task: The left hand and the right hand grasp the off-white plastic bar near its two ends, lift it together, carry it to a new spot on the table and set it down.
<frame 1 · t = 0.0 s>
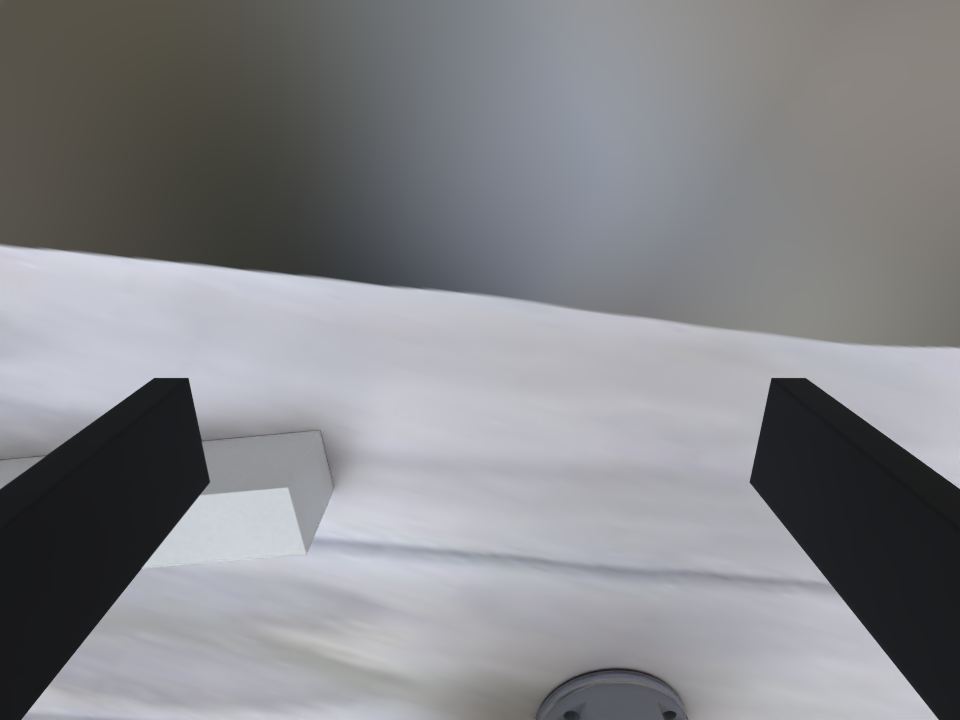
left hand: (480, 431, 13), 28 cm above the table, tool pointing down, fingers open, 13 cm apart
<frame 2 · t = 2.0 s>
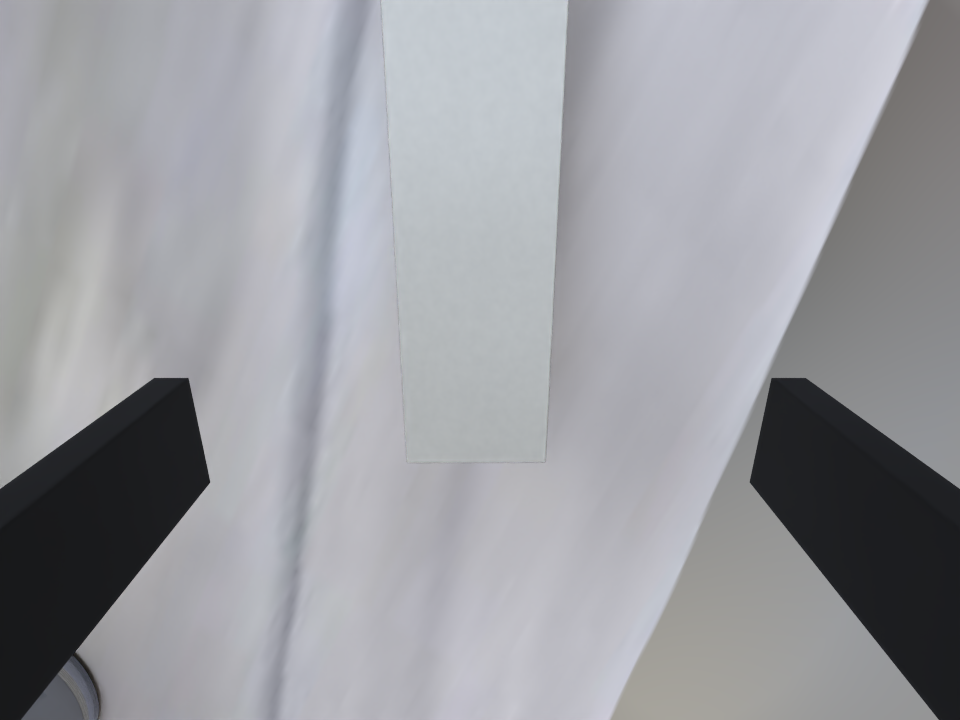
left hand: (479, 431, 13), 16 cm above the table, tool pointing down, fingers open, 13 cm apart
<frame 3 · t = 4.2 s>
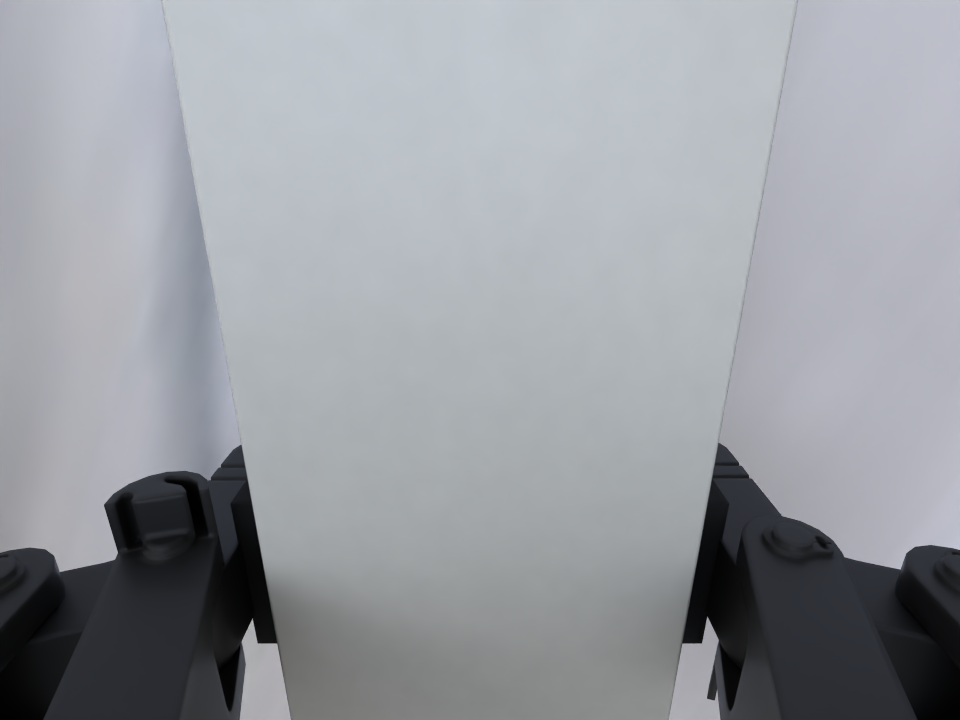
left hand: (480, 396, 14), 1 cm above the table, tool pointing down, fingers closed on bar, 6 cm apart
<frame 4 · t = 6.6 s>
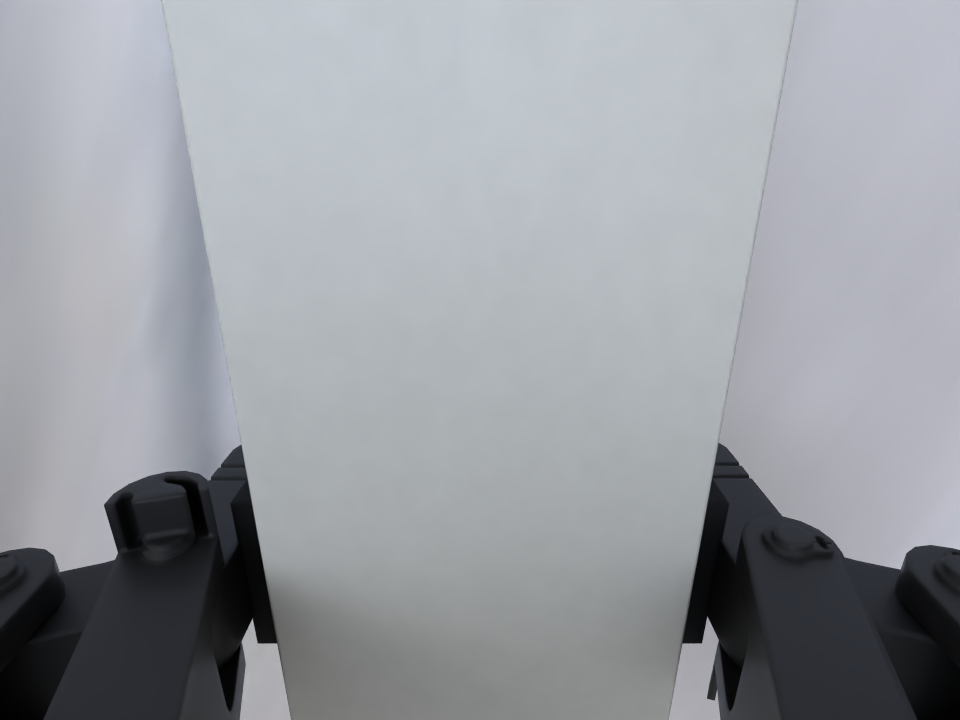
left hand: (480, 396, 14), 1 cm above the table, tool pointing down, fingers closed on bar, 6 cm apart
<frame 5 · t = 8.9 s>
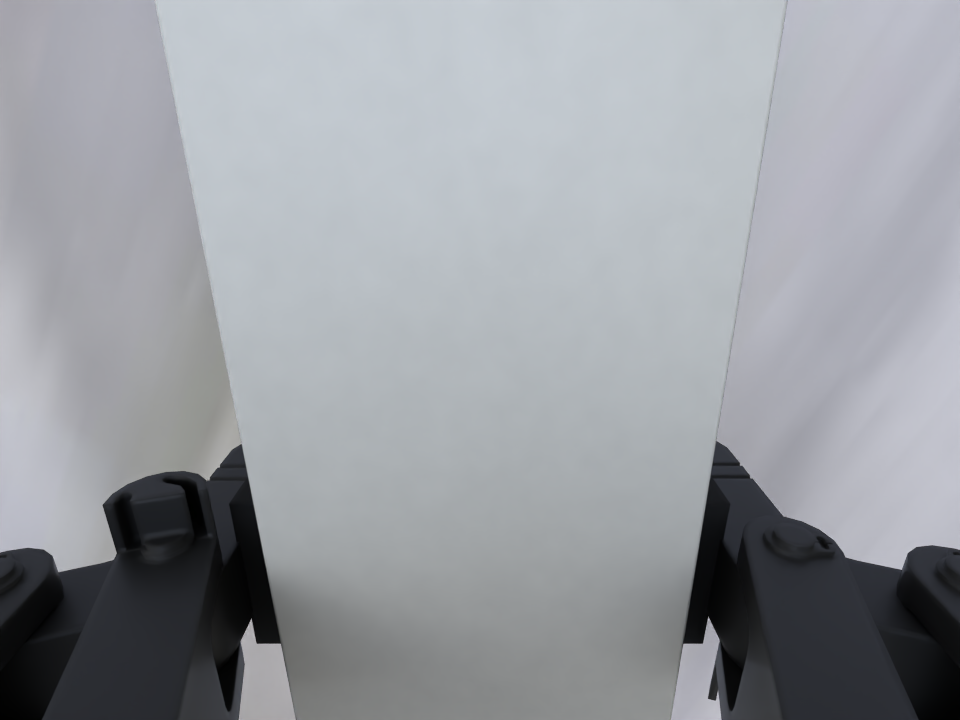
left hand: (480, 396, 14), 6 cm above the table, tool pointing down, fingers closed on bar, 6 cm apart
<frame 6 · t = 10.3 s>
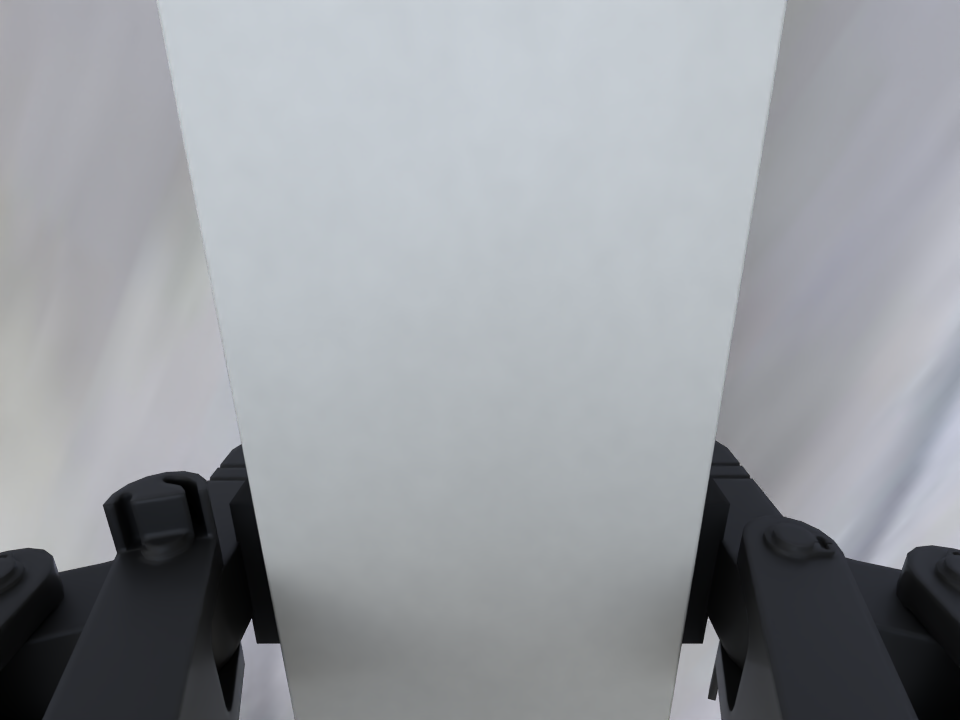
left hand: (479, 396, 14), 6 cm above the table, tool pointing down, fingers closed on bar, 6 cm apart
when the left hand's fingers open (2 cm above the table, at t = 11.2 s): bar drops 2 cm, on the table.
when the right hand's fingers open (2 cm above the table, at t = 11.2 s): bar drops 2 cm, on the table.
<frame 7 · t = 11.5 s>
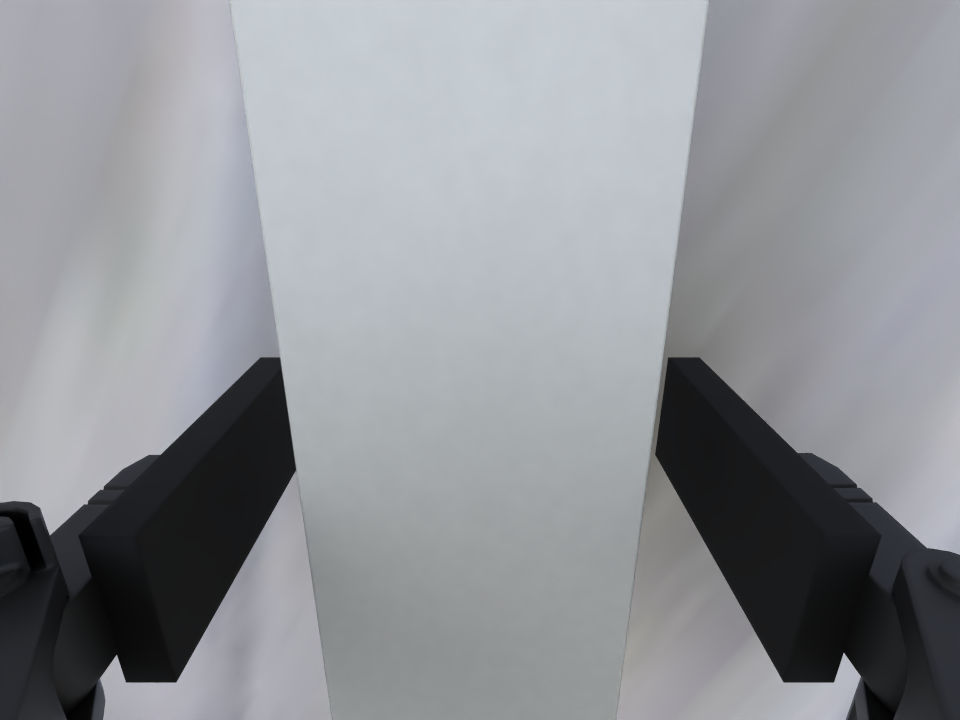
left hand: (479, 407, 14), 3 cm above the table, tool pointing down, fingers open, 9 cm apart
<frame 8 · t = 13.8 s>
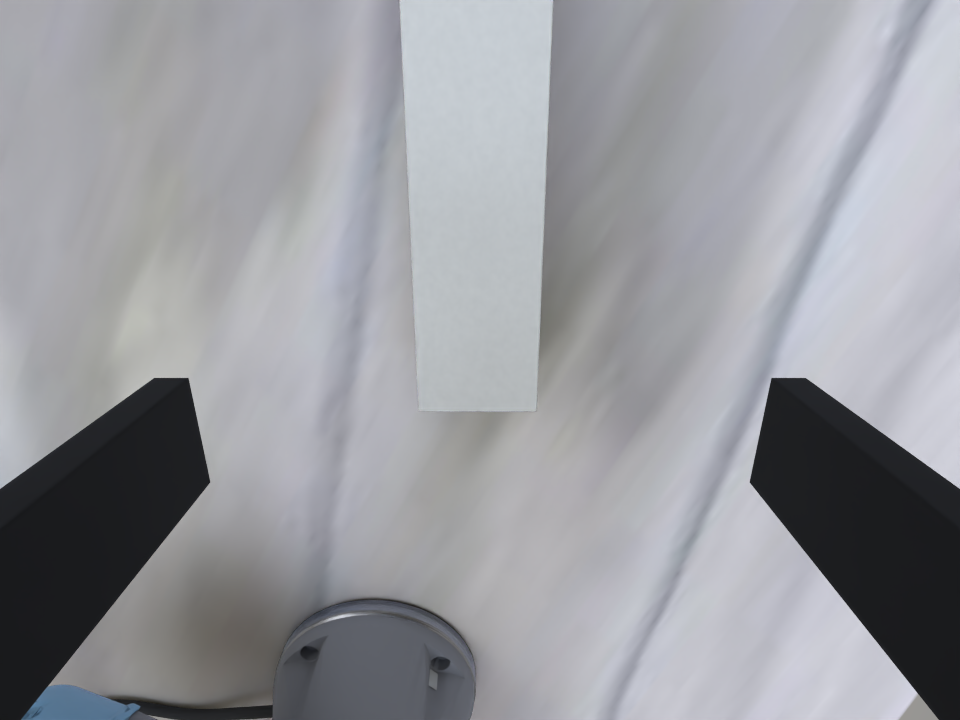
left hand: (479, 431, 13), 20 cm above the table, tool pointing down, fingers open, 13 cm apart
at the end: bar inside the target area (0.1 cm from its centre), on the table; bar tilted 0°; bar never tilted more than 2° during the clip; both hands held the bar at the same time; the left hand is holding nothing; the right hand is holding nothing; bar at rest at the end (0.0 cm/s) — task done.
